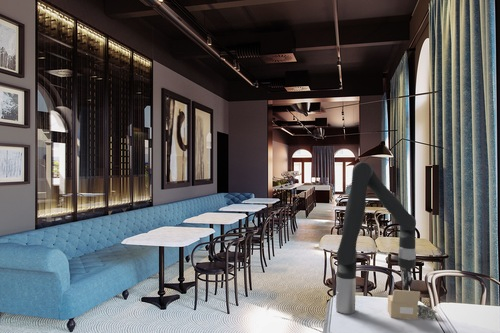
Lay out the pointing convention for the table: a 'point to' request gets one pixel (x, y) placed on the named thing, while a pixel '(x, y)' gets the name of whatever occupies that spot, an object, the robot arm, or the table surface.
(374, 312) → the table surface
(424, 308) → the grey textured block
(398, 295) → the flap
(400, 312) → the carton
